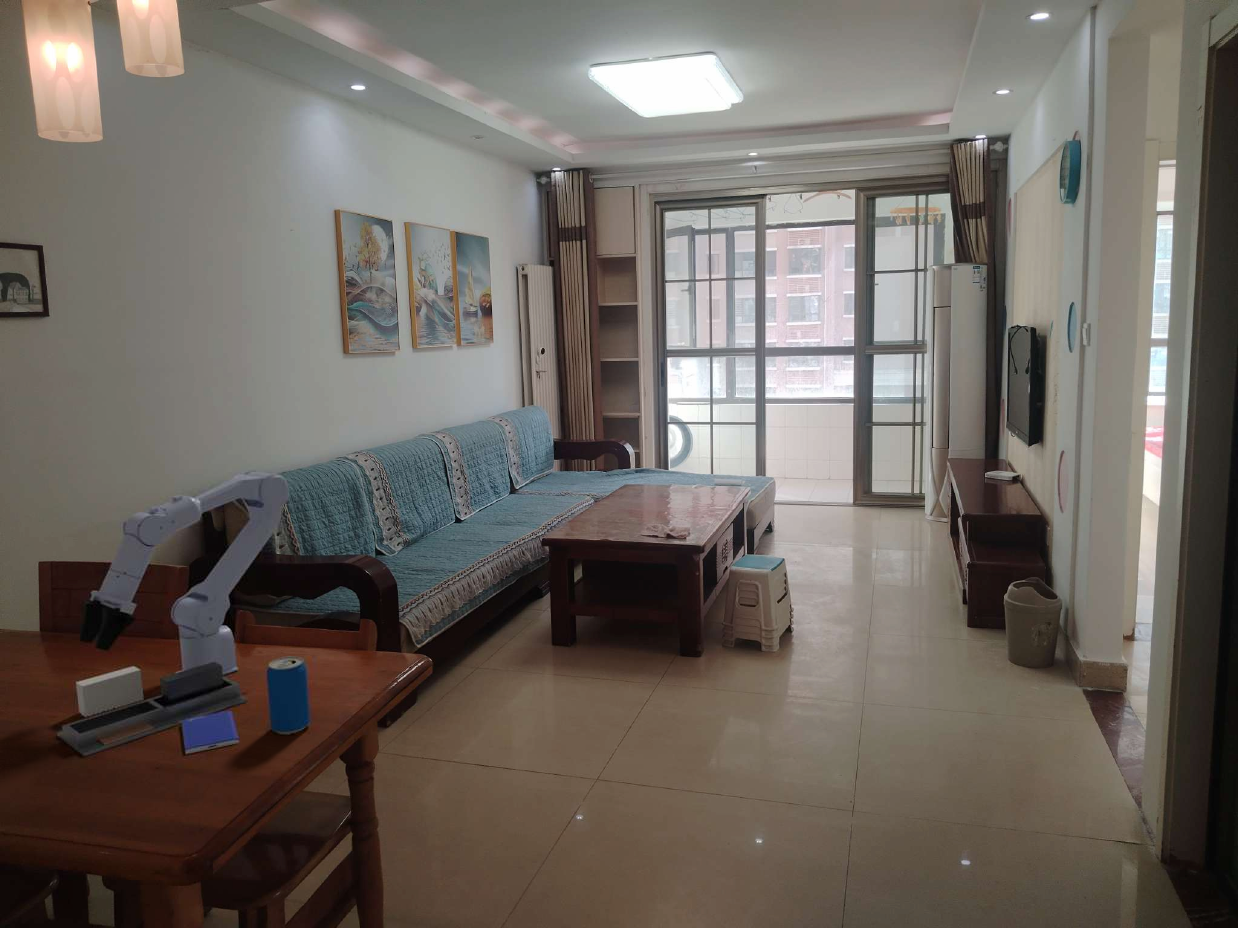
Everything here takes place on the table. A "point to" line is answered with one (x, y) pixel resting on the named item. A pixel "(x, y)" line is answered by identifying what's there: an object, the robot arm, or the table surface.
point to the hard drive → (209, 732)
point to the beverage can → (288, 695)
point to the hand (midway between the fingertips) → (93, 645)
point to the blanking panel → (109, 691)
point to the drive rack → (156, 710)
